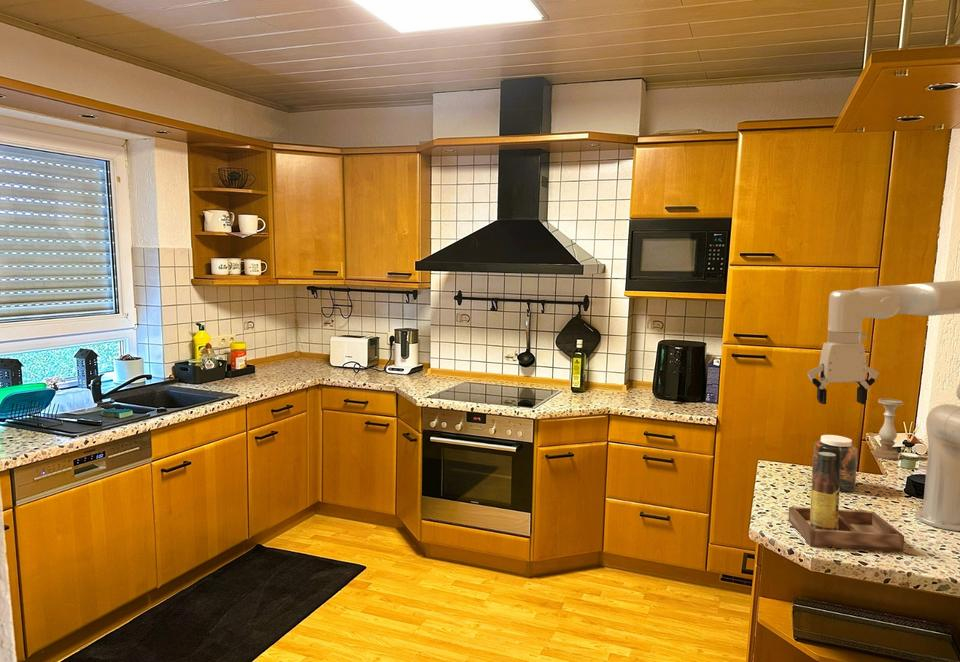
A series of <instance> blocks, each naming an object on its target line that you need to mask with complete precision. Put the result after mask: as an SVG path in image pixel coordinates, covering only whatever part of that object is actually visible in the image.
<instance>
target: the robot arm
mask: <svg viewBox="0 0 960 662" xmlns="http://www.w3.org/2000/svg"><path fill="white" fill-rule="evenodd" d="M898 314H899V315H900V314H902V315H910V316H922V317H923V316H927V317H929V316H943V315H955V314H960V280H949V281H934V282H921V283H918V282H917V283H910V284H909V283H908V284H897V285H895V284H894V285H893V284H892V285H881V286H880V285H879V286H866V287H865V286H864V287H858V288H855V289H845V290H844V289H842V290H841V289H840V290H839V289H838V290H834V291H832V292H830V294H829V297H828V316H827V317H828V318H827V319H828V320H827V321H828V322H827V341H826V342H823V345H822V349H821V352H820V357H819V363H818V364H819V365H818V366H816V367H814V368H811V369H810V370H808V371H807V372H806V374H807V376H808V378H809V379H810V382H811V383H812V384H813V385H814V386H815V387H816V388H817V389H816V399H817V402H818V403H819V404H821V405H826V404H827V389H826V387H827V386H828V385H829V384H830V383H857V385H858V387H857V388H856V402H857V403H859V404H860V405H866V401H868V400H867V399H868V390H869V389H870V388H871V386H872V385H873V384H875V382H876V379H877V377H878V376H879V375H880V371H877V370H876V369H875V368H871V367H869V366H867V357H866V351H865V345H864V343H862V342H863V340H866V339H867V334H866V333H863V329H862V327H863V318H866V319H867V318H869V319H877V320H884V319H885V320H886V319H888V318H891V317H894V316H895V315H898ZM867 373H869V376H868V377H866V376H867ZM817 374H818V377H819V379H817V377H816V375H817ZM955 395H956V397H957V398H958V400H959V401H960V383H959V384H958V386H957V388H956V393H955ZM925 426H926V433H927V434H926V435H927V443H928V447H927V459H926V460H927V462H926V472H925V479H924V480H925V481H924V482H925V483H924V494H923V504H922V508H919V509H917V510H915V514H914V515H915V517H916V519H917V520H918V521H921V522H922V523H924V524H926V525H929V526H931V527H936V528H938V529H943V530H949V531H954V532H955V531H956V532H960V406H958V405H956V404H947V403H944V404H939V405H937V406H935V407H933V408H932V409H931V410H930V411H929V413H928V414H927V416H926V422H925Z"/></svg>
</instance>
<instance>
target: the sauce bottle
mask: <svg viewBox="0 0 960 662" xmlns="http://www.w3.org/2000/svg"><path fill="white" fill-rule="evenodd" d="M818 460H819V463H818V472H817V473H816V474H815V475H814V477H813V480H812V479H811V491H810V493H811V494H810V507H809V508H810V525H811V526H812V528H813V529H822V530H837V526H838V511H839V510H840V509H839V507H840V493H841V492H840V485H839V482H838V479H837V476H836V472H835V461H836V454H833V453H829V452H819V453H818Z"/></svg>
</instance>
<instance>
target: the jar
mask: <svg viewBox="0 0 960 662" xmlns="http://www.w3.org/2000/svg"><path fill="white" fill-rule="evenodd" d="M819 452H829V453H833V454H836V461H835V472H836V476H837V479H838V482H839V485H840V492H839V493H851V492H854V491H855V490H856V481H857V470H858V469H857V467H858V447H856V446H855V445H853V440H852V439H851V438H848V437H846V436H841V435H836V434H822V435H821V436H820V440H817V441H815V442H814V446H813V453H812V467H811V468H812V469H811V481H812V480H813V477H814V475H815V474H816V473H817V472H818V463H819V460H818V453H819Z"/></svg>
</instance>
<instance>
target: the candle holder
mask: <svg viewBox="0 0 960 662" xmlns="http://www.w3.org/2000/svg"><path fill="white" fill-rule="evenodd" d="M877 402H878V403H879V404H880V405H881V404H882V405H883V408H884V409H885V411H884V412H883V416H884V422H883V425H882V426H881V428H880V430H879V432H878V436H879V437H880V439H879V443H880V445H881V446H880V447H876V448H875V449H873V450H871V455H873V456H874V457H876V458H880V459H884V460H885V459H886V460H899V459H898V455H899V454H900V453H899V452H898V450H895V449H893V447H894V446H895V444H896V442H895V440H896V439H897V438H898V437H897V436H898V433H897V430H896V428H895V425H894V424H895V423H894V422H895V421H894V420H895V417H897V415H896V413H895V410H896V409H898V407H899V406H903V405H904V401H902V400H899V399H896V398H894V399H893V398H878V400H877Z"/></svg>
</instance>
